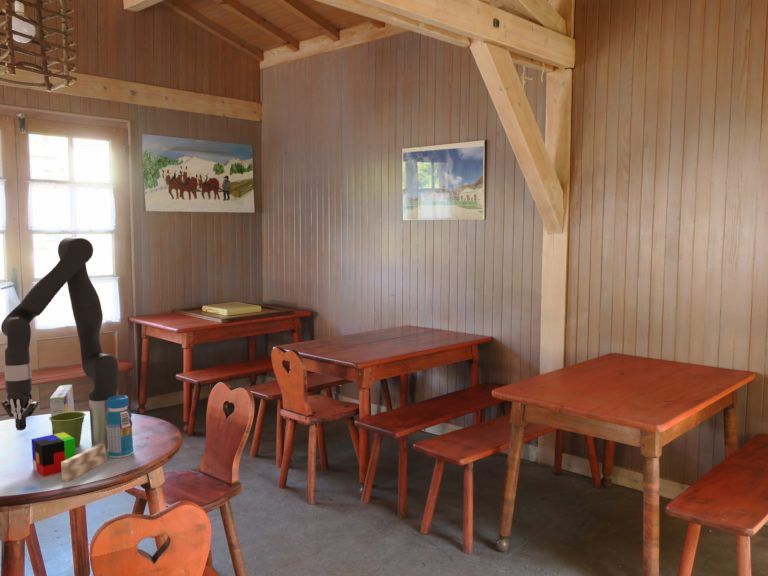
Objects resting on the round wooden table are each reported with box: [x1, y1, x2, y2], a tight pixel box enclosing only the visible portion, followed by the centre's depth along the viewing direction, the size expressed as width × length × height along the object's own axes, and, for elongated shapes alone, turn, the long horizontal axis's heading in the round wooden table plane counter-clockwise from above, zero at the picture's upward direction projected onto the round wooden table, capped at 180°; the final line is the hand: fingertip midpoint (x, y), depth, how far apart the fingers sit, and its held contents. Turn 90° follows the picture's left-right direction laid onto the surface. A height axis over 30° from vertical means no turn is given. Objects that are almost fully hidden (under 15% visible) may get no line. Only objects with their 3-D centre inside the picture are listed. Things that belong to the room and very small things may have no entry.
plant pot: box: [48, 411, 86, 449], centre depth 235 cm, size 12×12×11 cm
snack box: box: [49, 384, 76, 435], centre depth 257 cm, size 21×6×15 cm, turn 17°
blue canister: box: [106, 395, 134, 459], centre depth 225 cm, size 8×8×20 cm
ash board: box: [61, 444, 107, 483], centre depth 210 cm, size 18×2×6 cm, turn 166°
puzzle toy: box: [31, 432, 77, 477], centre depth 213 cm, size 10×10×10 cm
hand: (21, 429), depth 215 cm, fingers closed
